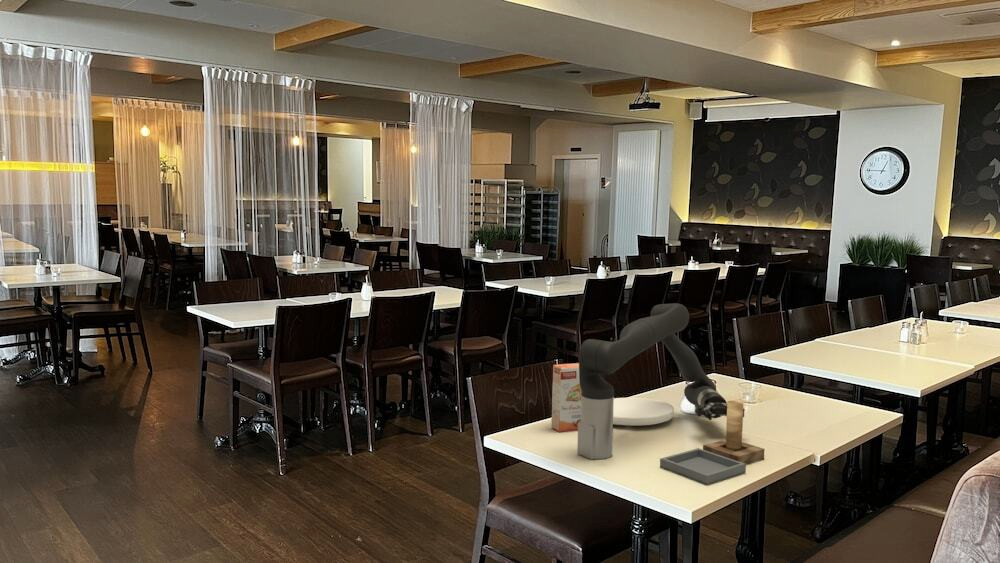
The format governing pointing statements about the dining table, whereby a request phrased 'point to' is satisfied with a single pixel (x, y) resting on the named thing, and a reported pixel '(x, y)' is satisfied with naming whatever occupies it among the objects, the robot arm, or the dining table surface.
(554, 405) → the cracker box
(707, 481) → the tray
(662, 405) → the plate
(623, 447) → the dining table surface
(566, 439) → the dining table surface
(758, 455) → the socket block
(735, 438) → the dowel
